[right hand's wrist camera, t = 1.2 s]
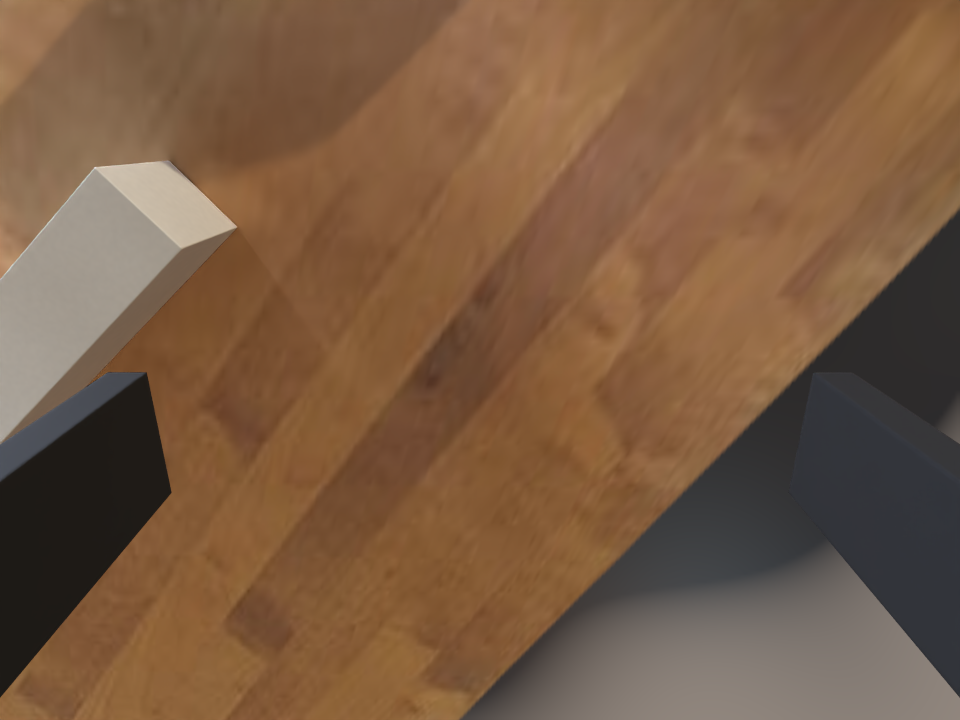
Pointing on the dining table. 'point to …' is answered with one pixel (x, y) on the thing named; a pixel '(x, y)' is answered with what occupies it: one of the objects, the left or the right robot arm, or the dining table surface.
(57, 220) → the post
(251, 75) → the dining table surface
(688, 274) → the dining table surface
